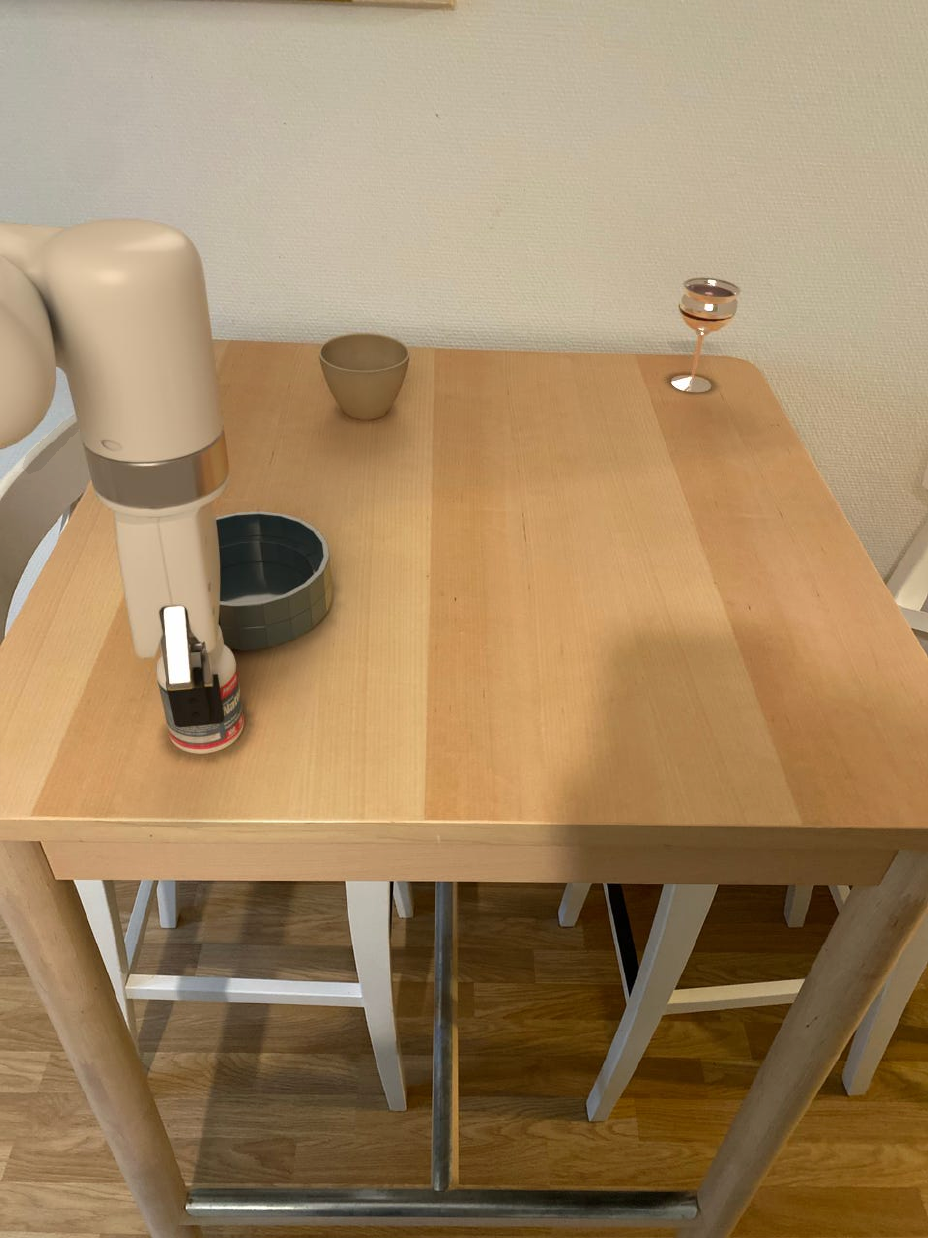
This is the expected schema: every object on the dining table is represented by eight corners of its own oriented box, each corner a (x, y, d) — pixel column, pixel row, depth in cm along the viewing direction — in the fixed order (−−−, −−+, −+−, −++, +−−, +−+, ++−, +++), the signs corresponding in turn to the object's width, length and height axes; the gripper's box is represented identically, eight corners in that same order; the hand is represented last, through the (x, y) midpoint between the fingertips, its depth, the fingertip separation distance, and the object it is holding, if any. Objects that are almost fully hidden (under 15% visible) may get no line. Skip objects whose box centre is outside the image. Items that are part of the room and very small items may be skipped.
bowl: (169, 662, 70) (158, 612, 67) (178, 564, 80) (168, 516, 77) (337, 647, 72) (334, 598, 69) (326, 553, 82) (323, 506, 79)
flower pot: (303, 412, 103) (299, 351, 98) (362, 383, 109) (360, 325, 105) (369, 440, 99) (367, 378, 94) (427, 408, 105) (428, 349, 100)
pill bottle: (240, 755, 63) (225, 660, 57) (163, 757, 63) (141, 661, 57) (248, 702, 67) (235, 608, 62) (176, 703, 67) (156, 609, 61)
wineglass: (726, 394, 111) (750, 297, 103) (673, 396, 110) (693, 298, 102) (707, 371, 116) (728, 276, 108) (656, 372, 115) (674, 277, 108)
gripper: (106, 394, 57) (154, 617, 68) (67, 550, 44) (134, 793, 55) (228, 390, 58) (255, 609, 70) (225, 541, 45) (259, 779, 57)
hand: (201, 689), depth 62 cm, fingers closed on pill bottle, 5 cm apart
